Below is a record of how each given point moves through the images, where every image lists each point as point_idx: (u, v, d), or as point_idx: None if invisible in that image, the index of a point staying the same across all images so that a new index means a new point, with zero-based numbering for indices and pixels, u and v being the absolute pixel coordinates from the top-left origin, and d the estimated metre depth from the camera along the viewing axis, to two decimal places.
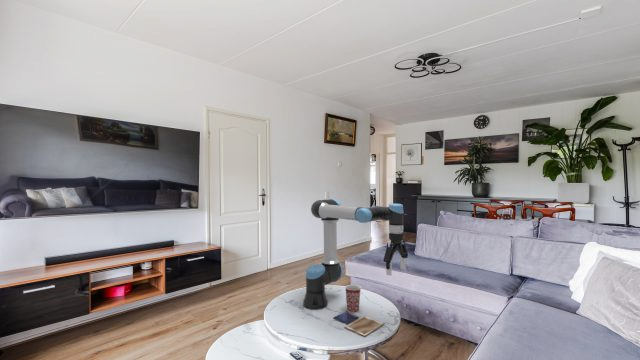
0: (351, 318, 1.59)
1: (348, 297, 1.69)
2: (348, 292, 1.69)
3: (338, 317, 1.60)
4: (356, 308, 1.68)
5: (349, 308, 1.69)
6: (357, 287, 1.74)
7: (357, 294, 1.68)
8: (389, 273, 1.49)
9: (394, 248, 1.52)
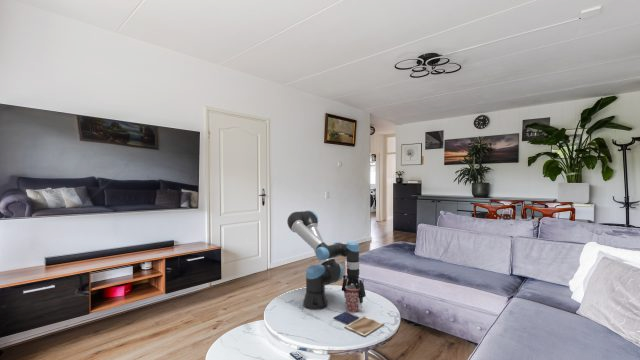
0: (351, 318, 1.59)
1: (348, 297, 1.69)
2: (348, 292, 1.69)
3: (338, 317, 1.60)
4: (356, 308, 1.68)
5: (349, 308, 1.69)
6: None
7: (357, 294, 1.68)
8: None
9: None
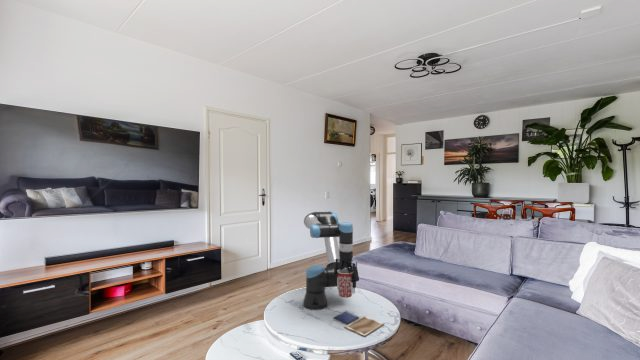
0: (351, 318, 1.59)
1: (340, 281, 1.56)
2: (340, 276, 1.56)
3: (338, 317, 1.60)
4: (349, 293, 1.56)
5: (341, 293, 1.56)
6: None
7: (350, 278, 1.56)
8: None
9: (341, 264, 1.62)
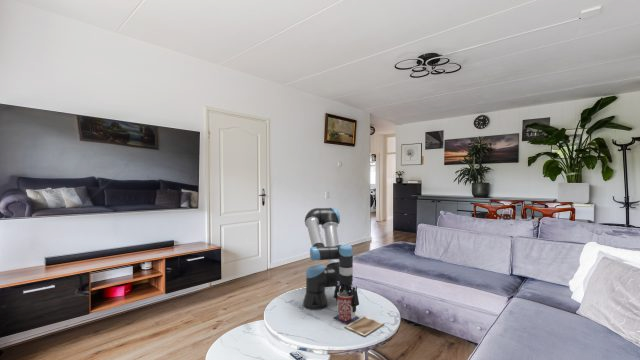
0: None
1: (340, 305, 1.56)
2: (340, 299, 1.56)
3: (338, 317, 1.60)
4: (348, 317, 1.55)
5: (341, 317, 1.56)
6: None
7: (350, 301, 1.55)
8: None
9: (341, 287, 1.62)
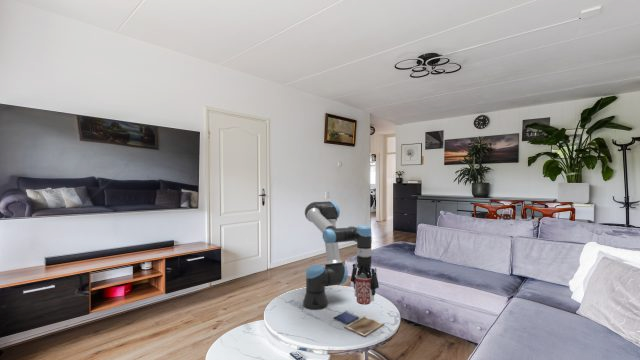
0: (351, 318, 1.59)
1: (358, 287, 1.47)
2: (358, 281, 1.47)
3: (338, 317, 1.60)
4: (367, 300, 1.47)
5: (359, 300, 1.47)
6: None
7: (369, 284, 1.47)
8: None
9: None
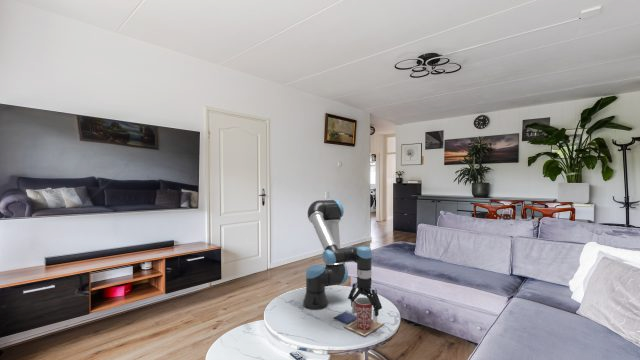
0: (351, 318, 1.59)
1: (358, 312, 1.47)
2: (358, 307, 1.47)
3: (338, 317, 1.60)
4: (368, 325, 1.47)
5: (360, 325, 1.47)
6: (369, 300, 1.52)
7: (369, 309, 1.47)
8: None
9: None
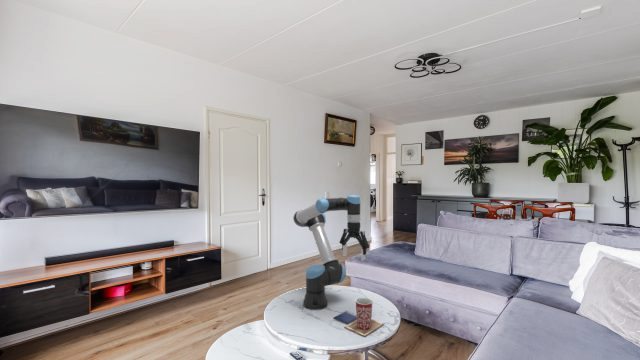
0: (351, 318, 1.59)
1: (358, 312, 1.48)
2: (358, 306, 1.47)
3: (338, 317, 1.60)
4: (367, 325, 1.47)
5: (359, 325, 1.47)
6: (369, 300, 1.52)
7: (368, 309, 1.47)
8: None
9: None
